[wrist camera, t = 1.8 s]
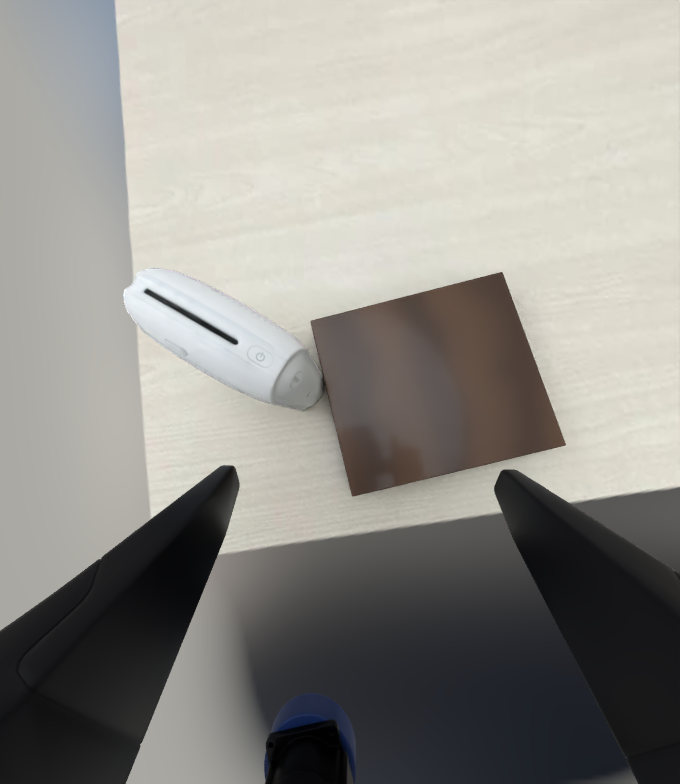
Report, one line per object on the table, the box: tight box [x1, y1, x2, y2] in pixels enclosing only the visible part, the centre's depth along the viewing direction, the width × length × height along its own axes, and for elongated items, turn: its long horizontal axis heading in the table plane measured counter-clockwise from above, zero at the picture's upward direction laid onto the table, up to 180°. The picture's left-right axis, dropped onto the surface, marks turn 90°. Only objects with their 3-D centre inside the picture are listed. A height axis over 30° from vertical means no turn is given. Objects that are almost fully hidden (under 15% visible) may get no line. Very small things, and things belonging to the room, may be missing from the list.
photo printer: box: [123, 268, 324, 412], centre depth 17 cm, size 10×4×12 cm, turn 60°
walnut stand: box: [311, 272, 566, 496], centre depth 21 cm, size 17×15×2 cm
